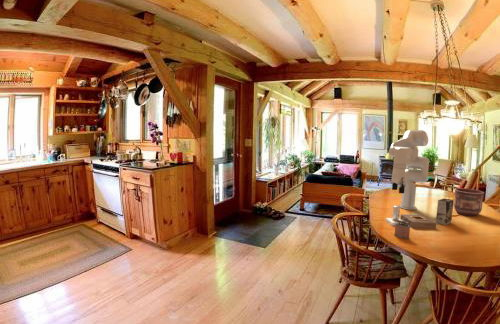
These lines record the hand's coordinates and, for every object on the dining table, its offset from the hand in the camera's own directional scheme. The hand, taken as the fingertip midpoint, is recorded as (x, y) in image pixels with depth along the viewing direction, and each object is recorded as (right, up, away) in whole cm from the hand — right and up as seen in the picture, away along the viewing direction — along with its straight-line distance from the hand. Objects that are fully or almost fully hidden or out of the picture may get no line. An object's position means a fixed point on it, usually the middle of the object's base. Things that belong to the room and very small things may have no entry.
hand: (397, 191), depth 183 cm
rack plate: (+14, -22, +2) cm, 27 cm away
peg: (0, -20, +3) cm, 20 cm away
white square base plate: (0, -22, +3) cm, 22 cm away
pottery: (+67, -20, +25) cm, 74 cm away
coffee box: (+34, -22, +4) cm, 41 cm away
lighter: (-9, -25, -20) cm, 34 cm away
